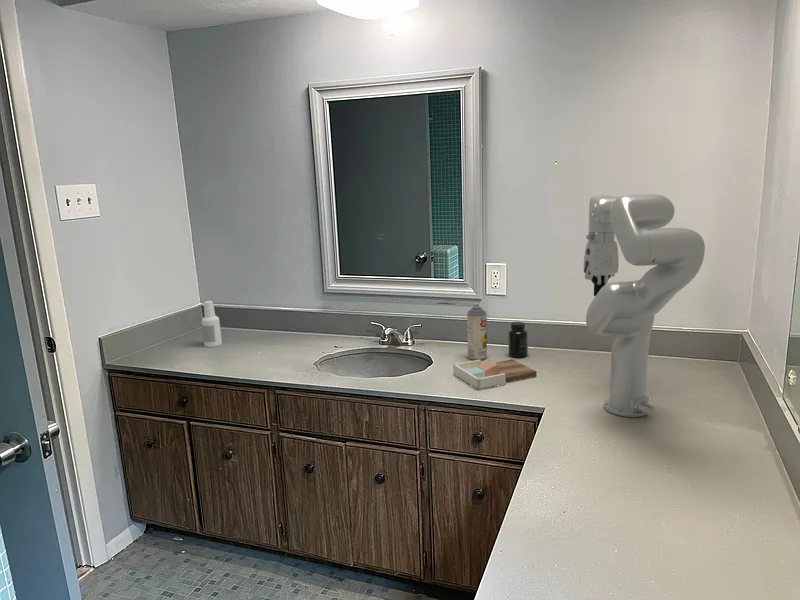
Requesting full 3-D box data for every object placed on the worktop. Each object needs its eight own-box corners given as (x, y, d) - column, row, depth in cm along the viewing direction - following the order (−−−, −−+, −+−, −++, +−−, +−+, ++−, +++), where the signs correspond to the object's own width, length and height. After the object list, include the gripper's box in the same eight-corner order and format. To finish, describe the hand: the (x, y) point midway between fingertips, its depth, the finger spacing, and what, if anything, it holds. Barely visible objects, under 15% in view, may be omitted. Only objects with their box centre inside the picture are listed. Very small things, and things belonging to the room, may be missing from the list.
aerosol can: (483, 361, 216) (483, 306, 212) (465, 359, 219) (464, 305, 214) (489, 355, 222) (488, 302, 218) (470, 353, 225) (470, 300, 220)
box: (505, 384, 194) (505, 374, 193) (478, 390, 190) (477, 379, 190) (479, 369, 209) (479, 359, 208) (453, 374, 205) (453, 364, 204)
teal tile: (485, 380, 197) (485, 371, 197) (472, 383, 195) (472, 374, 195) (477, 375, 202) (477, 366, 201) (464, 378, 200) (464, 369, 199)
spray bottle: (204, 343, 251) (199, 300, 247) (221, 341, 253) (216, 299, 249) (204, 348, 245) (199, 304, 241) (222, 346, 247) (217, 302, 243)
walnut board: (536, 376, 200) (536, 371, 199) (505, 383, 195) (505, 377, 195) (512, 364, 212) (512, 359, 212) (482, 370, 208) (482, 364, 207)
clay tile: (499, 372, 199) (497, 364, 198) (487, 378, 198) (485, 370, 197) (491, 367, 204) (489, 359, 203) (479, 374, 202) (476, 366, 201)
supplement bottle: (526, 352, 224) (526, 320, 221) (528, 358, 218) (528, 325, 215) (507, 352, 225) (507, 320, 222) (509, 358, 218) (509, 326, 216)
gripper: (589, 241, 179) (587, 302, 183) (629, 236, 185) (626, 295, 189) (573, 238, 186) (571, 297, 190) (612, 234, 191) (609, 291, 196)
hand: (599, 296), depth 189 cm, fingers closed
